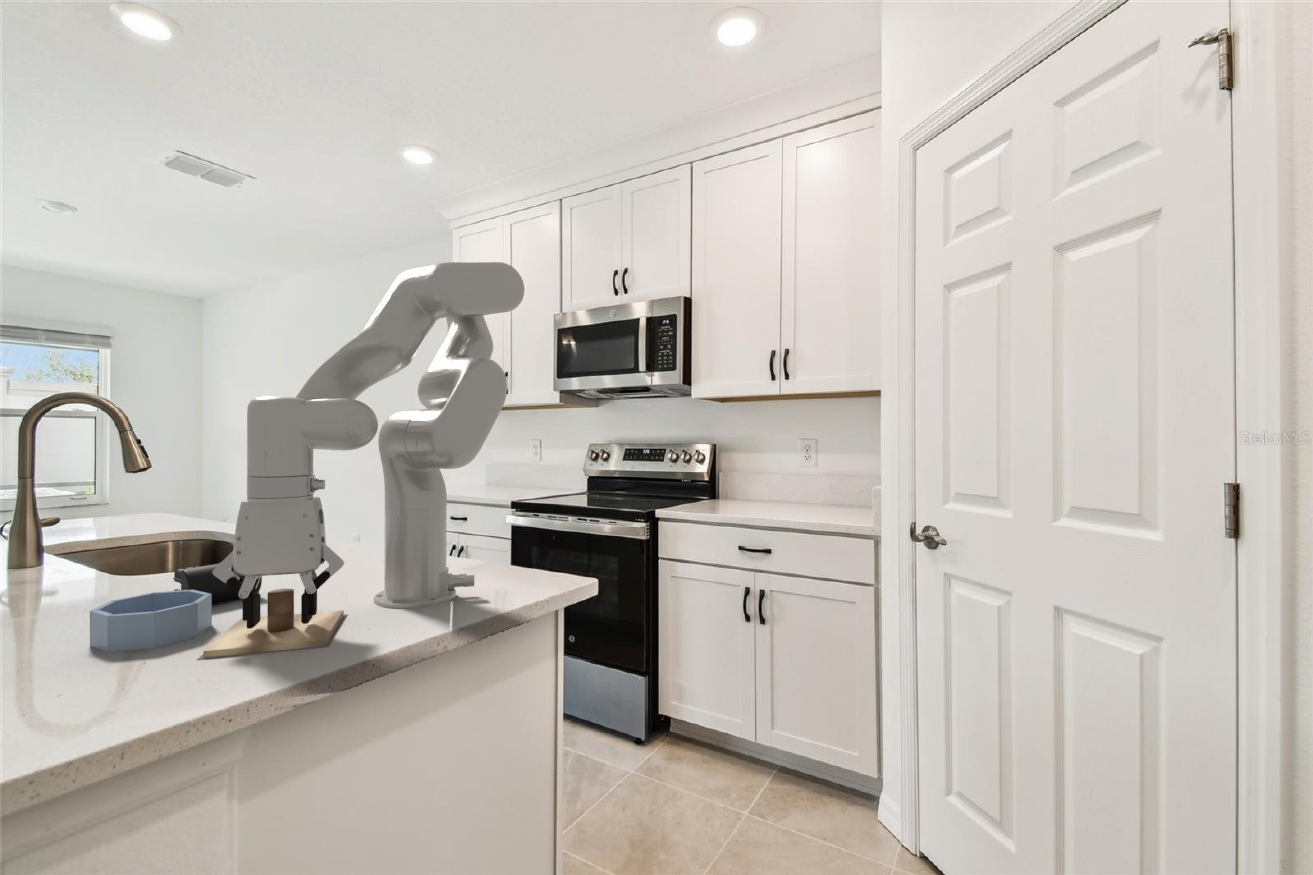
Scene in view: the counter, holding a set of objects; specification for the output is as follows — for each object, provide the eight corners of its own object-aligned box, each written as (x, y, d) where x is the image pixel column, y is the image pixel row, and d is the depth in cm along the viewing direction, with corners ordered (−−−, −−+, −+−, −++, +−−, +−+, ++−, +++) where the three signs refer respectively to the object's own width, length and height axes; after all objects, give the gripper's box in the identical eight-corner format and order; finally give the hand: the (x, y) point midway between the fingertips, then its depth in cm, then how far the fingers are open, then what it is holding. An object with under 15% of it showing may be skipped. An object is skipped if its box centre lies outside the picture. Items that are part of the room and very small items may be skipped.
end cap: (189, 617, 88) (189, 572, 88) (170, 609, 92) (170, 566, 92) (262, 601, 97) (262, 560, 97) (242, 594, 101) (242, 555, 101)
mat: (347, 618, 88) (347, 614, 88) (328, 651, 75) (328, 646, 75) (238, 627, 84) (238, 623, 83) (196, 664, 70) (196, 659, 70)
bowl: (220, 621, 86) (220, 587, 86) (186, 649, 75) (186, 610, 75) (124, 629, 82) (123, 594, 82) (73, 659, 71) (73, 619, 71)
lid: (343, 615, 87) (343, 576, 87) (325, 645, 75) (325, 600, 75) (241, 624, 83) (241, 583, 83) (203, 657, 71) (203, 609, 71)
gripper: (356, 485, 85) (356, 609, 85) (215, 488, 80) (215, 620, 80) (347, 490, 78) (346, 625, 78) (192, 493, 73) (192, 639, 73)
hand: (280, 621), depth 79 cm, fingers open, 5 cm apart
